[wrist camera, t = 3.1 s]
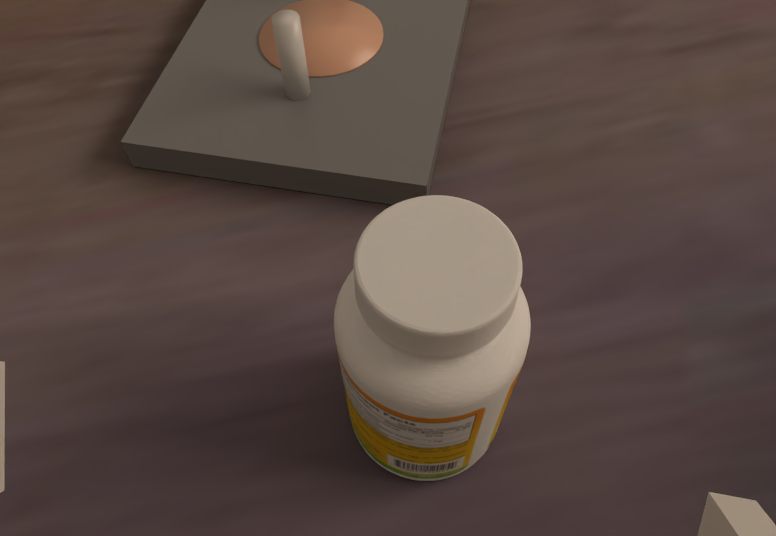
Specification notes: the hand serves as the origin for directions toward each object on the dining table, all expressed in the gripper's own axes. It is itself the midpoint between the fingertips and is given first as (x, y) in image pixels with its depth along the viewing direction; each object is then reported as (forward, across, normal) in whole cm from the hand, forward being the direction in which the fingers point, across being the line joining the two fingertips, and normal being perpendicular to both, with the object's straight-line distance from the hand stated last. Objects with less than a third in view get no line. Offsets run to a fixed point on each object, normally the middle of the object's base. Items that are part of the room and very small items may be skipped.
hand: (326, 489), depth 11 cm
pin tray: (+24, -7, +10) cm, 27 cm away
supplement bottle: (+11, +1, -3) cm, 12 cm away
